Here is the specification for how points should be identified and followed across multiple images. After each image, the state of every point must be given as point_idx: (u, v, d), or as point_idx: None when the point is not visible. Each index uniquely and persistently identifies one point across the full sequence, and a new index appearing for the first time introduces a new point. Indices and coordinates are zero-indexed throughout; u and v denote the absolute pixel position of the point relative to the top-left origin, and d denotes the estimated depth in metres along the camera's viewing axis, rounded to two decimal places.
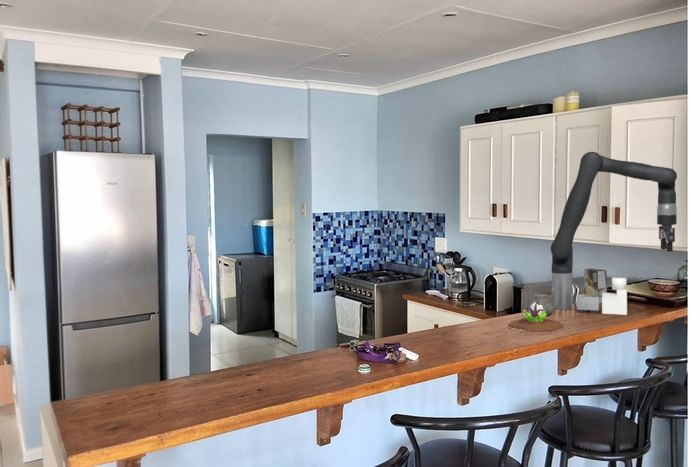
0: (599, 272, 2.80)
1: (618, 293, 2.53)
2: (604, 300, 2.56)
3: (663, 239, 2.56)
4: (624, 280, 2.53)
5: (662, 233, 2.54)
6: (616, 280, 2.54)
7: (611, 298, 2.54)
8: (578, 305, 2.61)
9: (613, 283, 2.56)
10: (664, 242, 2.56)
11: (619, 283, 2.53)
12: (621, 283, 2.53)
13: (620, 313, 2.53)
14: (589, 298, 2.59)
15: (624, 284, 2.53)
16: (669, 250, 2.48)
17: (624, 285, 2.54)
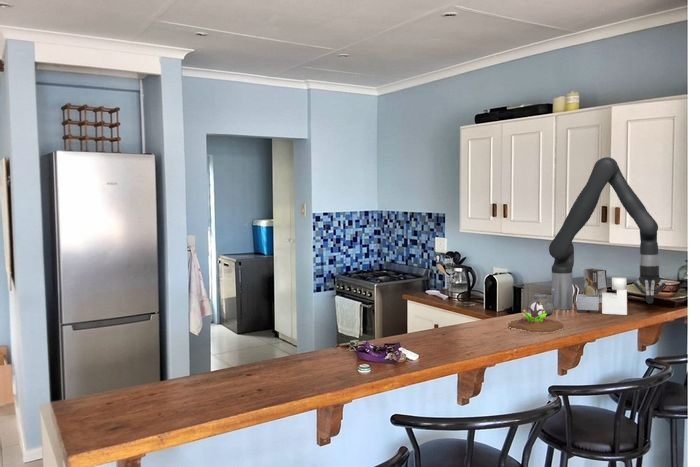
0: (599, 272, 2.80)
1: (618, 293, 2.53)
2: (604, 300, 2.56)
3: None
4: (624, 280, 2.53)
5: (648, 284, 2.50)
6: (616, 280, 2.54)
7: (611, 298, 2.54)
8: (578, 305, 2.61)
9: (613, 283, 2.56)
10: None
11: (619, 283, 2.53)
12: (621, 283, 2.53)
13: (620, 313, 2.53)
14: (589, 298, 2.59)
15: (624, 284, 2.53)
16: (651, 302, 2.51)
17: (624, 285, 2.54)
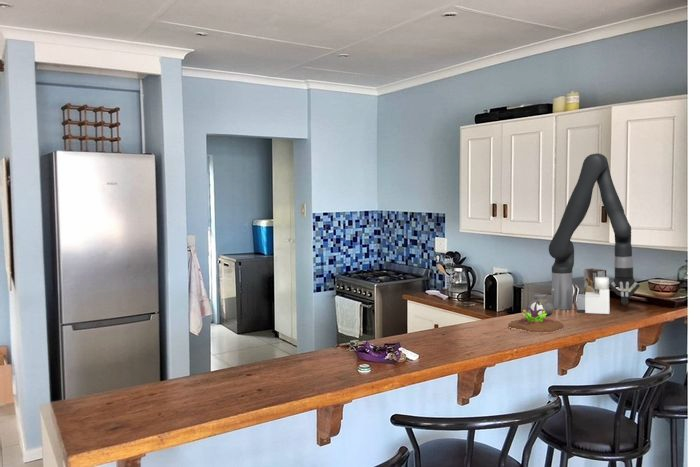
0: (599, 272, 2.80)
1: (601, 292, 2.56)
2: (586, 299, 2.59)
3: None
4: (607, 280, 2.56)
5: (622, 286, 2.55)
6: (599, 280, 2.57)
7: (594, 297, 2.57)
8: (578, 305, 2.61)
9: (596, 283, 2.59)
10: None
11: (602, 283, 2.56)
12: (604, 283, 2.56)
13: (603, 312, 2.56)
14: None
15: (606, 283, 2.56)
16: (626, 303, 2.56)
17: (607, 285, 2.57)
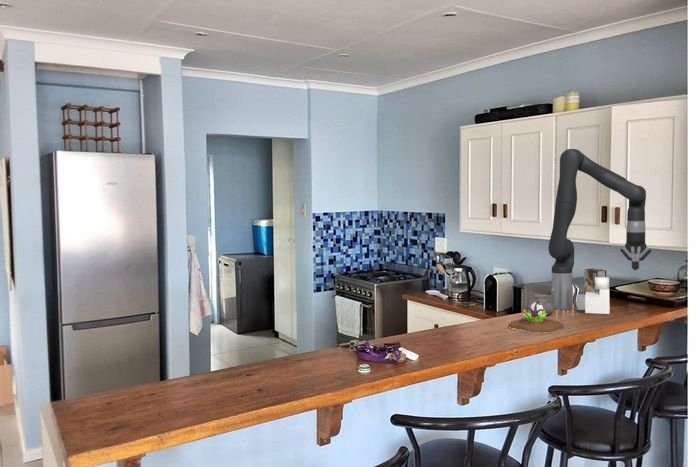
0: (599, 272, 2.80)
1: (601, 292, 2.56)
2: (587, 299, 2.59)
3: None
4: (607, 280, 2.56)
5: (634, 250, 2.52)
6: (599, 280, 2.57)
7: (594, 297, 2.57)
8: (578, 305, 2.61)
9: (596, 283, 2.58)
10: None
11: (602, 283, 2.56)
12: (604, 283, 2.56)
13: (603, 312, 2.56)
14: None
15: (607, 283, 2.56)
16: (637, 268, 2.53)
17: (607, 285, 2.56)
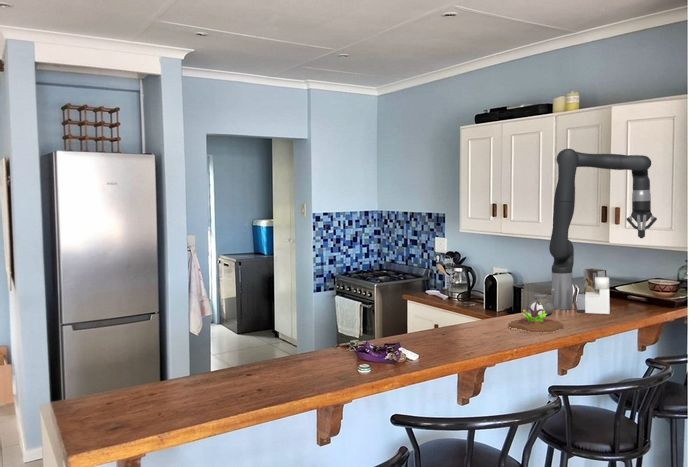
0: (599, 272, 2.80)
1: (601, 292, 2.56)
2: (587, 299, 2.59)
3: None
4: (607, 280, 2.56)
5: (640, 219, 2.59)
6: (599, 280, 2.57)
7: (594, 297, 2.57)
8: (578, 305, 2.61)
9: (596, 283, 2.58)
10: None
11: (602, 283, 2.56)
12: (604, 283, 2.56)
13: (603, 312, 2.56)
14: None
15: (607, 283, 2.56)
16: None
17: (607, 285, 2.56)
